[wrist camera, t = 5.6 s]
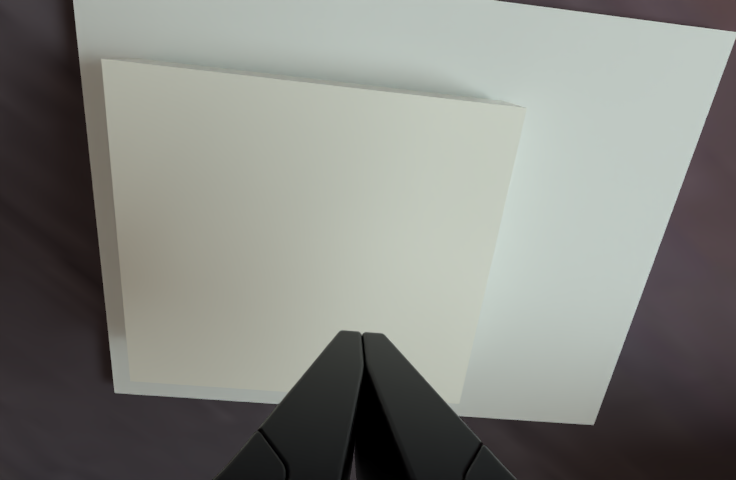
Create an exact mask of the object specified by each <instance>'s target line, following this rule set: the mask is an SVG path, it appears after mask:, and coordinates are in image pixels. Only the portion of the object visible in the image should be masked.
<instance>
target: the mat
mask: <svg viewBox="0 0 736 480" xmlns="http://www.w3.org/2000/svg"><path fill="white" fill-rule="evenodd" d="M73 6H74V15H75V24H76V34H77V43H78V53H79V62H80V72H81V81H82V90H83V100H84V109H85V119H86V128H87V138H88V147H89V156H90V166H91V175H92V185H93V194H94V204H95V213H96V222H97V232H98V241H99V251H100V260H101V269H102V279H103V288H104V298H105V307H106V317H107V326H108V335H109V345H110V354H111V364H112V373H113V383H114V392H115V393H122V394H137V395H152V396H167V397H182V398H197V399H212V400H227V401H241V402H256V403H271V404H279V403H280V402H281V401H282V399H283V398H284V397H285V396H286V395H287V393H288V392H280V391H265V390H251V389H236V388H222V387H207V386H193V385H178V384H163V383H149V382H134V381H130V373H129V362H128V351H127V340H126V329H125V318H124V307H123V296H122V285H121V273H120V262H119V251H118V240H117V229H116V218H115V207H114V196H113V185H112V174H111V162H110V151H109V140H108V129H107V118H106V107H105V96H104V85H103V74H102V62H101V59H126V58H140V59H148V60H157V61H166V62H174V63H183V64H191V65H200V66H209V67H217V68H226V69H234V70H243V71H252V72H260V73H269V74H277V75H286V76H295V77H303V78H312V79H320V80H329V81H338V82H346V83H355V84H363V85H372V86H381V87H389V88H398V89H406V90H415V91H424V92H432V93H441V94H449V95H458V96H467V97H475V98H484V99H492V100H501V101H505V102H508V103H512V104H515V105H519V106H522V107H525V108H527V109H526V114H525V118H524V123H523V127H522V131H521V136H520V140H519V145H518V149H517V153H516V158H515V162H514V166H513V171H512V175H511V180H510V184H509V188H508V193H507V197H506V201H505V206H504V210H503V215H502V219H501V223H500V228H499V232H498V236H497V241H496V245H495V250H494V254H493V258H492V263H491V267H490V272H489V276H488V280H487V285H486V289H485V293H484V298H483V302H482V307H481V311H480V315H479V320H478V324H477V328H476V333H475V337H474V342H473V346H472V350H471V355H470V359H469V363H468V368H467V372H466V377H465V381H464V385H463V390H462V394H461V398H460V403H459V404H454V403H447V404H448V405H449V406H450V407H451V408H452V409H453V411H454V412H455V413H456V414H457V415H458V416H466V417H481V418H495V419H510V420H525V421H540V422H555V423H570V424H585V425H594V423H595V420H596V417H597V414H598V412H599V409H600V406H601V404H602V401H603V398H604V395H605V393H606V390H607V387H608V385H609V382H610V379H611V376H612V374H613V371H614V368H615V365H616V363H617V360H618V357H619V355H620V352H621V349H622V346H623V344H624V341H625V338H626V335H627V333H628V330H629V327H630V325H631V322H632V319H633V316H634V314H635V311H636V308H637V305H638V303H639V300H640V297H641V295H642V292H643V289H644V286H645V284H646V281H647V278H648V275H649V273H650V270H651V267H652V265H653V262H654V259H655V256H656V254H657V251H658V248H659V245H660V243H661V240H662V237H663V235H664V232H665V229H666V226H667V224H668V221H669V218H670V215H671V213H672V210H673V207H674V205H675V202H676V199H677V196H678V194H679V191H680V188H681V185H682V183H683V180H684V177H685V175H686V172H687V169H688V166H689V164H690V161H691V158H692V155H693V153H694V150H695V147H696V145H697V142H698V139H699V136H700V134H701V131H702V128H703V125H704V123H705V120H706V117H707V115H708V112H709V109H710V106H711V104H712V101H713V98H714V95H715V93H716V90H717V87H718V85H719V82H720V79H721V76H722V74H723V71H724V68H725V65H726V63H727V60H728V57H729V55H730V52H731V49H732V46H733V44H734V41H735V38H736V32H730V31H723V30H715V29H708V28H700V27H692V26H685V25H677V24H670V23H662V22H654V21H647V20H639V19H632V18H624V17H616V16H609V15H601V14H594V13H586V12H578V11H571V10H563V9H556V8H548V7H540V6H533V5H525V4H518V3H510V2H502V1H495V0H73Z"/></svg>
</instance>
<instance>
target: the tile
mask: <svg viewBox="0 0 736 480" xmlns="http://www.w3.org/2000/svg"><path fill="white" fill-rule="evenodd" d="M101 62H102V74H103V85H104V96H105V107H106V118H107V129H108V140H109V151H110V162H111V174H112V185H113V196H114V207H115V218H116V229H117V240H118V251H119V262H120V273H121V285H122V296H123V307H124V318H125V329H126V340H127V351H128V362H129V373H130V381H134V382H149V383H163V384H178V385H193V386H207V387H222V388H236V389H251V390H265V391H280V392H289V391H290V390H291V389H292V387H293V386H294V385H295V384H296V383H297V381H298V380H299V379H300V378H301V377H302V375H303V374H304V373H305V372H306V371H307V369H308V368H309V367H310V366H311V365H312V363H313V362H314V361H315V360H316V359H317V357H318V356H319V355H320V354H321V353H322V351H323V350H324V349H325V348H326V346H327V345H328V344H329V343H330V342H331V340H332V339H333V338H334V337H335V336H336V334H337V333H338V332H339V331H341V330H347V331H358V332H360V333H361V334H363V333H364V332H373V333H383V334H384V335H386V337H387V338H388V339H389V340H390V341H391V342H392V343H393V344H394V345H395V347H396V348H397V349H398V350H399V351H400V352H401V353H402V354H403V355H404V356H405V358H406V359H407V360H408V361H409V362H410V363H411V364H412V365H413V366H414V367H415V369H416V370H417V371H418V372H419V373H420V374H421V375H422V376H423V377H424V379H425V380H426V381H427V382H428V383H429V384H430V385H431V386H432V387H433V388H434V390H435V391H436V392H437V393H438V394H439V395H440V396H441V397H442V398H443V400H444V401H445V402H446V403H454V404H459V403H460V398H461V394H462V390H463V385H464V381H465V377H466V372H467V368H468V363H469V359H470V355H471V350H472V346H473V342H474V337H475V333H476V328H477V324H478V320H479V315H480V311H481V307H482V302H483V298H484V293H485V289H486V285H487V280H488V276H489V272H490V267H491V263H492V258H493V254H494V250H495V245H496V241H497V236H498V232H499V228H500V223H501V219H502V215H503V210H504V206H505V201H506V197H507V193H508V188H509V184H510V180H511V175H512V171H513V166H514V162H515V158H516V153H517V149H518V145H519V140H520V136H521V131H522V127H523V123H524V118H525V114H526V109H527V108H525V107H522V106H519V105H515V104H512V103H508V102H505V101H501V100H492V99H484V98H475V97H467V96H458V95H449V94H441V93H432V92H424V91H415V90H406V89H398V88H389V87H381V86H372V85H363V84H355V83H346V82H338V81H329V80H320V79H312V78H303V77H295V76H286V75H277V74H269V73H260V72H252V71H243V70H234V69H226V68H217V67H209V66H200V65H191V64H183V63H174V62H166V61H157V60H148V59H140V58H126V59H101Z"/></svg>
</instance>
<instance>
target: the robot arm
mask: <svg viewBox="0 0 736 480" xmlns="http://www.w3.org/2000/svg"><path fill="white" fill-rule="evenodd" d="M354 446H355V467H356V478H357V480H517V479H516V478H515V477H514V476H513V475H512V474H511V473H510V472H509V471H508V470H507V468H506V467H505V466H504V465H503V464H502V463H501V462H500V461H499V460H498V459H497V458H496V457H495V456H494V454H493V453H492V452H491V451H490V450H489V449H488V448H487V447H486V446H483V443H482V441H481V440H480V439H479V438H478V437H477V436H476V435H475V434H474V433H473V432H472V430H471V429H470V428H469V427H468V426H467V425H466V424H465V423H464V422H463V421H462V419H461V418H460V417H459V416H458V415H457V414H456V413H455V412H454V411H453V409H452V408H451V407H450V406H449V405H448V404H447V403H446V402H445V401H444V400H443V398H442V397H441V396H440V395H439V394H438V393H437V392H436V391H435V390H434V388H433V387H432V386H431V385H430V384H429V383H428V382H427V381H426V380H425V379H424V377H423V376H422V375H421V374H420V373H419V372H418V371H417V370H416V369H415V367H414V366H413V365H412V364H411V363H410V362H409V361H408V360H407V359H406V358H405V356H404V355H403V354H402V353H401V352H400V351H399V350H398V349H397V348H396V347H395V345H394V344H393V343H392V342H391V341H390V340H389V339H388V338H387V337H386V335H384V334H383V333H373V332H364V333H363V334H361V333H360V332H358V331H347V330H341V331H339V332H338V333H337V334H336V336H335V337H334V338H333V339H332V340H331V342H330V343H329V344H328V345H327V346H326V348H325V349H324V350H323V351H322V353H321V354H320V355H319V356H318V357H317V359H316V360H315V361H314V362H313V363H312V365H311V366H310V367H309V368H308V369H307V371H306V372H305V373H304V374H303V375H302V377H301V378H300V379H299V380H298V381H297V383H296V384H295V385H294V386H293V387H292V389H291V390H290V391H289V392H288V393H287V395H286V396H285V397H284V398H283V399H282V401H281V402H280V403H279V404H278V405H277V407H276V408H275V409H274V410H273V412H272V413H271V414H270V415H269V416H268V418H267V419H266V420H265V421H264V422H263V424H262V425H261V426H260V427H259V428H258V431H257V432H255V433H254V434H253V435H252V436H251V438H250V439H249V440H248V441H247V443H246V444H245V445H244V446H243V447H242V449H241V450H240V451H239V452H238V453H237V454H236V455H235V456H234V457H233V459H232V460H231V461H230V462H229V463H228V464H227V465H226V466H225V468H224V469H223V470H222V471H221V472H220V473H219V474H218V475H217V476H216V477H215V478H214V479H213V480H350V474H351V468H352V461H353V453H354Z"/></svg>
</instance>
